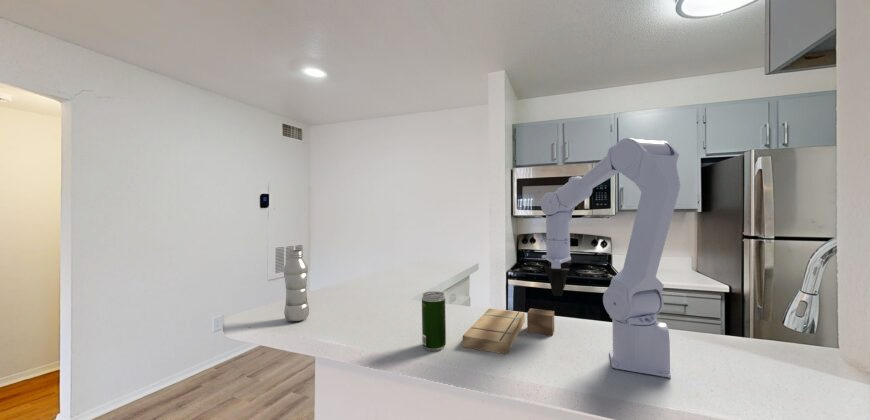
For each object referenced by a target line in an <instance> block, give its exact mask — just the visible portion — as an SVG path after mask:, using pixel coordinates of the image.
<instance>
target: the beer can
mask: <svg viewBox="0 0 870 420" xmlns="http://www.w3.org/2000/svg"><path fill="white" fill-rule="evenodd" d="M446 318H447V317H446V297H445V293H444V292H442V291H425V292H424V293H422V297H421V331H422V332H421V336H422V337H421V338H422V339H421V340H422V343H421V345H422V346H423V349H424V350H426V351H429V352H439V351H443V350H444V348H445V347H446V345H447V333H446V332H447V329H446V320H447V319H446Z"/></svg>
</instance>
